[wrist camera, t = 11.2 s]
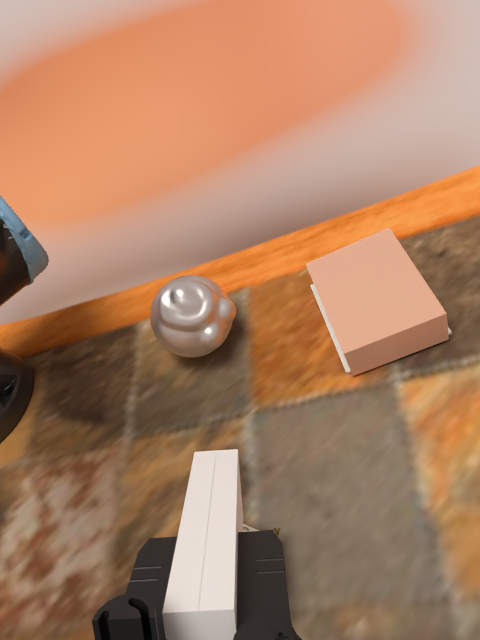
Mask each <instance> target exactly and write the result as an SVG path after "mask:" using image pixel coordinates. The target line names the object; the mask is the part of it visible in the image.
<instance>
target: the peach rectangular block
mask: <svg viewBox="0 0 480 640" xmlns="http://www.w3.org/2000/svg"><path fill="white" fill-rule="evenodd" d="M306 267H307V269H308V271H309V274H310V276H311V278H312V281H313V283H314V286H315V288H316V290H317V293H318V295H319V297H320V300H321V302H322V304H323V307H324V309H325V311H326V314H327V316H328V318H329V321H330V323H331V325H332V328H333V330H334V333H335V335H336V337H337V340H338V342H339V344H340V347H341V349H342V351H343V354H344V356H345V358H346V361H347V363H348V365H349V368H350V370H351V372H352V375H353V376H355V375H357V374H360V373H363V372H365V371H368V370H370V369H373V368H376V367H378V366H381V365H383V364H386V363H389V362H391V361H394V360H397V359H399V358H402V357H404V356H407V355H410V354H412V353H415V352H417V351H420V350H423V349H425V348H428V347H431V346H433V345H436V344H438V343H441V342H444V341H446V340H449V334H448V323H447V313H446V312H445V310H444V309H443V307H442V306H441V304H440V303H439V301H438V300H437V298H436V297H435V295H434V294H433V292H432V291H431V289H430V288H429V286H428V285H427V283H426V282H425V280H424V279H423V277H422V276H421V274H420V273H419V271H418V270H417V268H416V267H415V265H414V264H413V262H412V261H411V259H410V258H409V256H408V255H407V253H406V252H405V250H404V249H403V247H402V246H401V244H400V243H399V241H398V240H397V238H396V237H395V235H394V234H393V232H392V231H391V229H390V228H386V229H384V230H382V231H379V232H377V233H375V234H373V235H370V236H368V237H366V238H363V239H361V240H359V241H357V242H354V243H352V244H350V245H347V246H345V247H343V248H340V249H338V250H336V251H334V252H331V253H329V254H327V255H324V256H322V257H320V258H317V259H315V260H313V261H311V262H308V263H306Z"/></svg>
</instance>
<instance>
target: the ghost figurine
mask: <svg viewBox="0 0 480 640" xmlns="http://www.w3.org/2000/svg"><path fill="white" fill-rule="evenodd" d="M235 316H236V307H235V305H234V303H233V302H232V301H231V300H229V298H228V296H227V294H226V293H225V291H224V290H223V289H222V288H221V287H220V286H219V285H218V284H217V283H215V282H214V281H212V280H210V279H208V278H205V277H202V276H196V275H187V276H182V277H178V278H176V279H173V280H171V281H170V282H168V283H167V284H166V285H164V286H163V287H162V288H161V289H160V291H159V292H158V293H157V295H156V297H155V298H154V301H153V303H152V307H151V314H150V319H151V326H152V329H153V332H154V334H155V336H156V338H157V339H158V341H159V342H160V343H161V344H162V345H163V346H164V347H165V348H166V349H167V350H169V351H170V352H172V353H174V354H176V355H179V356H183V357H201V356H204V355H207V354H209V353H211V352H212V351H214V350H215V349H217V348H218V347H220V346H221V345H222V344H223V343H224V341H225V340H226V338H227V336H228V334H229V331H230V329H231V327H232V322H233V319H234V318H235Z"/></svg>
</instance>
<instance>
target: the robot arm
mask: <svg viewBox="0 0 480 640" xmlns="http://www.w3.org/2000/svg"><path fill="white" fill-rule="evenodd" d="M48 262H49V259H48V255H47V253H46V251H45V250H44V248H43V247H42V246H41V244H40V243H39V242H38V241H37V239H36V238H35V237H34V236H33V235H32V233H31V232H30V231H29V230H28V229H27V227H26V226H25V225H24V224H23V222H22V221H21V220H20V218H19V217H18V216H17V215H16V213H15V212H14V211H13V210H12V209H11V207H10V206H9V205H8V204H7V203H6V202H5V201H4V199H3V198H2V197H1V196H0V306H1V305H2V304H4V303H5V302H6V301H8V299H10V298H11V297H12V296H14V295H15V294H16V293H17V292H19V291H20V290H21V289H22V288H24V287H25V286H28V285H30V284H32V283H33V281H34V279H35V278H36V276H38V275H39V274H40V273H41V272H42V271H43V270H45V268H46V267H47V265H48ZM32 388H33V372H32V369H31V367H30V365H29V364H28V363H27V362H26V361H25V360H24V359H22V358H21V357H19V356H18V355H16V354H15V353H13V352H11V351H9V350H5V349H1V348H0V442H1V441H2V440H3V439H4V438H5V437H6V436H7V435H8V433H9V432H10V431H11V430H12V429H13V427H14V426H15V425H16V423H17V422H18V420H19V419H20V417H21V416H22V414H23V412H24V410H25V408H26V406H27V404H28V402H29V399H30V396H31V393H32ZM92 624H93V630H94V635H95V640H302V639H301V638H300V637H299V636H298V635H297V634H296V632H295V630H294V628H293V627H292V623H291V619H290V611H289V602H288V593H287V585H286V576H285V567H284V559H283V550H282V542H281V541H280V540H279V538H278V537H277V535H276V534H275V533H274V531H273V530H268V531H250V532H243V509H242V497H241V484H240V471H239V458H238V449H234V450H217V451H201V452H195V453H194V458H193V463H192V468H191V473H190V478H189V483H188V488H187V493H186V498H185V503H184V507H183V512H182V517H181V522H180V527H179V532H178V537H165V538H150V539H149V540H148V541H147V542H146V544H145V545H144V546H143V547H142V548H141V550H140V551H139V552H138V555H137V559H136V562H135V565H134V570H133V572H132V575H131V578H130V583H129V585H128V588H127V591H126V594H125V595H120V596H117V597H115V598H114V599H112V600H110V601H108V602H107V603H105V604H104V605H103V606H102V607H101V608H100V609H99V610H98V611H97V613H96V615H95V616H94V618H93V620H92Z"/></svg>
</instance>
